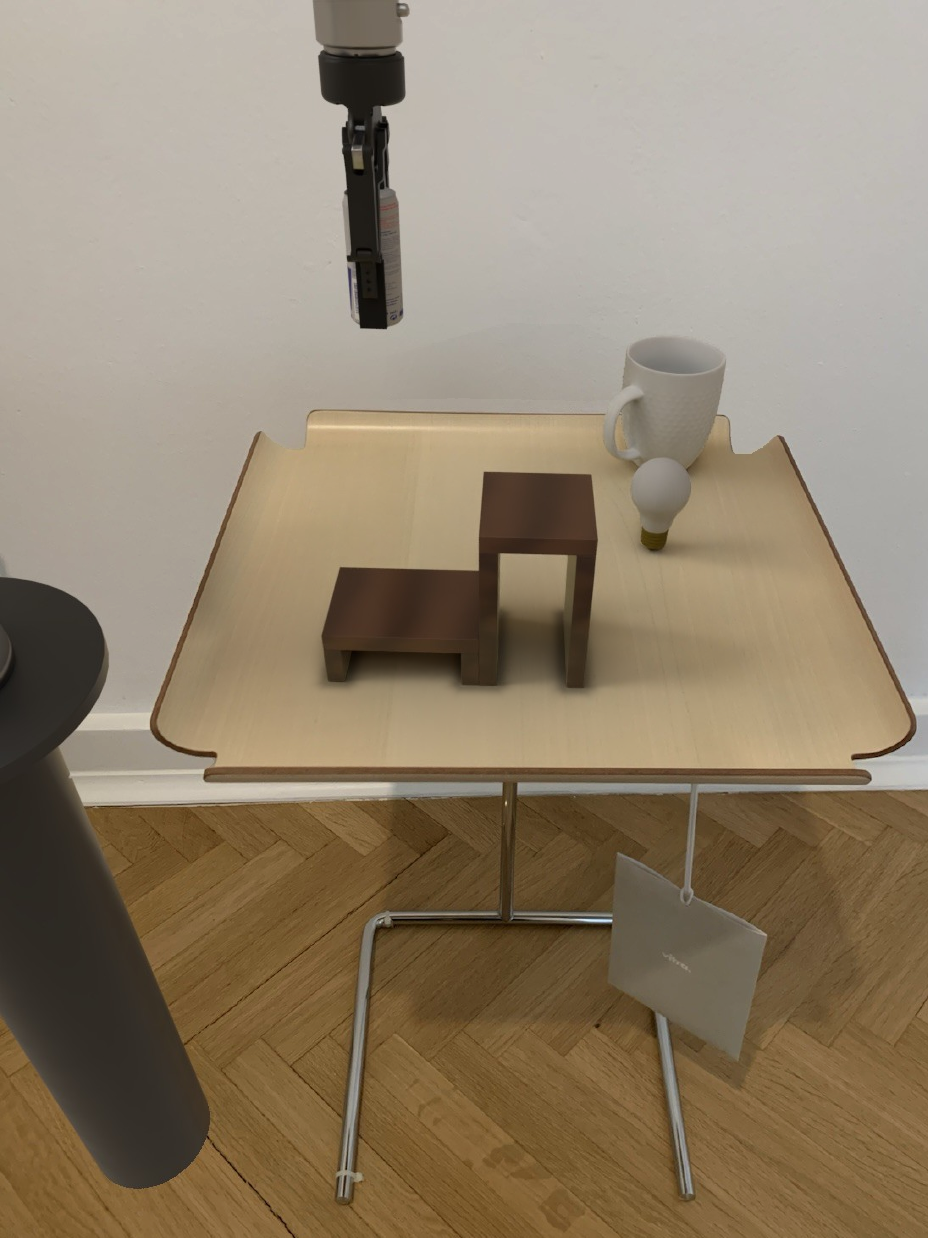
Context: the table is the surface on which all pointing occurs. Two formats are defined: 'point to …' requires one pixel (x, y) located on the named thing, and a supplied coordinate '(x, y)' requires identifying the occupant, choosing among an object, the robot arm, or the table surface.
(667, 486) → the light bulb
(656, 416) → the mug
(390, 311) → the energy drink
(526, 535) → the shelf
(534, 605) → the table surface
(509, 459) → the table surface
